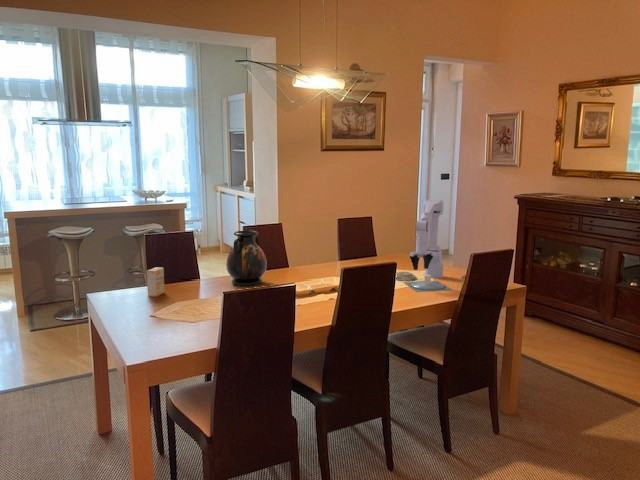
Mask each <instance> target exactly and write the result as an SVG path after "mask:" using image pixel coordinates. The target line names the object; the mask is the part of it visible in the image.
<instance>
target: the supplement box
mask: <svg viewBox="0 0 640 480" xmlns="http://www.w3.org/2000/svg"><path fill="white" fill-rule="evenodd" d="M164 269H165V268H164V267H162V266H161V267H160V266H159V267H156V266H155V267H152V268H151V269H148V270H146V276H147V277H146V278H147V279H146V280H147V296H148V297H151V298H152V297H154V298H155V297H156V298H157V297H159V296H160V295H162V294H164V293H165V270H164Z"/></svg>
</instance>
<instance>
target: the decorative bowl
mask: <svg viewBox="0 0 640 480" xmlns="http://www.w3.org/2000/svg"><path fill="white" fill-rule="evenodd" d="M396 274H397V280H396V281H397V282H416V281H417V280H418V277H417V276H416V275H414V274H413V273H412V272H409V271H398V272H396Z"/></svg>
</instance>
